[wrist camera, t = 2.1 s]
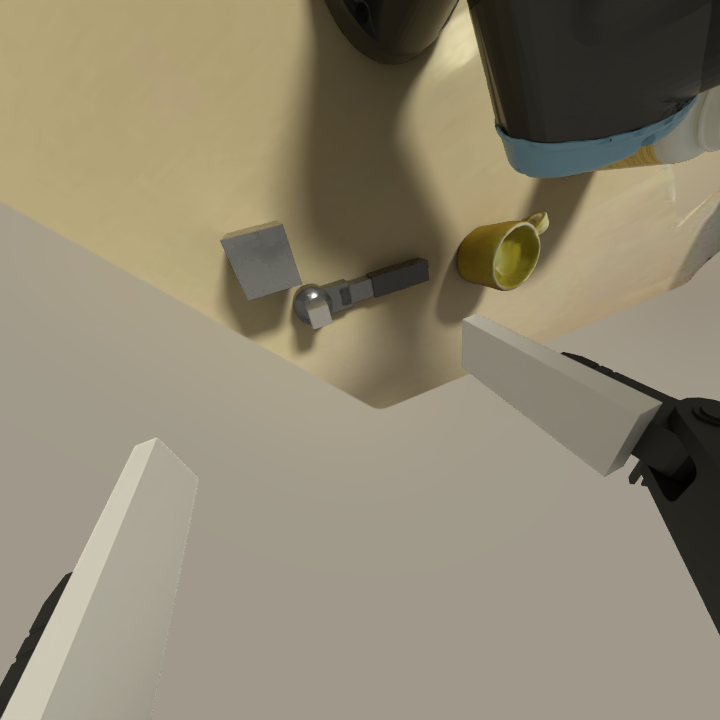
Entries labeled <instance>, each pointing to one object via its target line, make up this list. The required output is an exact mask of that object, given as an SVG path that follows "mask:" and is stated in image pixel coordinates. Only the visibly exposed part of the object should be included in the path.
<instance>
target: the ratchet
mask: <svg viewBox="0 0 720 720" xmlns="http://www.w3.org/2000/svg"><path fill="white" fill-rule="evenodd" d="M428 280H429V273H428V260H426V259H422V258H416V259H413V260H410V261H406V262H403V263H400V264H397V265H394V266H390V267H387V268H384V269H381V270H378V271H374V272H371V273H368V274H366V276H363V277H360V278H356V279H353V280H350V281H345V280H344V279H342V280H339V281H335V282H332V283H329V284H326V285H323V286H318V285H316V284H307V285H304V286H302V287H300V288H299V289H298V290H297V291H296V293H295V295H294V298H293V305H294V308H295V311H296V313H297V315H298V317H299V318H300V319H301V320H302V321H303V322H305V323H307V324H310V325H312V327H313V329H317V328H320V327H323V326H326V325H329V324H332V323H333V321H332V318H331V314H332V313H335V312H338V311H341V310H344V309H347V308H350V307H353V303H355V302H358V301H361V300H364V299H367V298H370V297H373V296H374V297H375V298H377V297H380V296H383V295H386V294H389V293H392V292H395V291H398V290H401V289H404V288H407V287H410V286H413V285H416V284H419V283H422V282H425V281H428Z"/></svg>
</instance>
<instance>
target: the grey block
mask: <svg viewBox="0 0 720 720" xmlns="http://www.w3.org/2000/svg"><path fill="white" fill-rule="evenodd" d="M220 242H221V244H222V246H223V248H224V250H225V253H226V255H227V257H228V259H229V261H230V263H231V265H232V268H233V270H234V272H235V274H236V276H237V278H238V280H239V283H240V285H241V287H242V289H243V291H244V293H245V295H246V298H247V300H252V299H255V298H258V297H262V296H265V295H268V294H271V293H275V292H278V291H281V290H284V289H288V288H291V287H294V286H298V285H301V284H302V282H301V279H300V276H299V273H298V270H297V267H296V264H295V261H294V258H293V255H292V251H291V248H290V245H289V242H288V239H287V236H286V233H285V230H284V227H283V224H281V223H280V222H278V221H273V222H269V223H265V224H262V225H258V226H254V227H250V228H246V229H242V230H238V231H234V232H230V233H227V234H226V235H225V236H224V237H223V238H222V239H221V240H220Z"/></svg>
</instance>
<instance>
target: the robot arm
mask: <svg viewBox="0 0 720 720" xmlns="http://www.w3.org/2000/svg"><path fill="white" fill-rule="evenodd" d="M326 2H327V5H328V7H329V9H330V11H331V13H332V15H333V17H334V19H335V21H336V22H337V24H338V26H339V27H340V29H341V30H342V32H343V33H344V34H345V36H346V37H347V38H348V40H349V41H350V42H351V43H352V44H353V45H354V46H355V47H356V48H357V49H358V50H359V51H360V52H362V53H363V54H364V55H366V56H368V57H369V58H371V59H373V60H375V61H378V62H381V63H385V64H399V63H404V62H406V61H409V60H411V59H413V58H414V57H416V56H417V55H419V54H420V53H421V52H422V51H423V50H425V49H426V48H427V47H428V46H429V45H430V44H431V43H432V42H433V41H434V40H435V39H436V38H437V37H438V36H439V34H440V33H441V32H442V31H443V29H444V28H445V26H446V25H447V23H448V22H449V20H450V18H451V16H452V14H453V13H454V11H455V8H456V6H457V4H458V2H459V0H326ZM467 2H468V6H469V13H470V17H471V20H472V24H473V28H474V32H475V36H476V40H477V44H478V48H479V52H480V56H481V60H482V64H483V68H484V72H485V76H486V80H487V85H488V89H489V93H490V97H491V102H492V106H493V110H494V115H495V127H496V131H497V133H498V135H499V136H500V137H501V139H502V142H503V145H504V148H505V152H506V155H507V158H508V161H509V163H510V165H511V166H512V167H513V169H514V170H516V171H517V172H519V173H522V174H526V175H527V176H529V177H534V178H558V177H565V176H571V175H576V174H580V173H585V172H588V171H592V170H595V169H599V168H602V167H605V166H608V165H610V164H613V163H615V162H618V161H620V160H623V159H625V158H627V157H629V156H631V155H634V154H635V153H636V152H637V151H638V149H639V148H640V147H644V146H649V145H653V144H654V143H656V142H657V141H659V140H661V139H662V138H663V137H665V136H666V135H668V134H669V133H670V132H672V131H673V130H674V129H675V128H676V127H677V126H678V125H679V124H680V123H681V122H682V121H683V120H684V119H685V117H686V116H687V115H688V113H689V111H690V109H691V108H692V107H693V105H694V104H695V103H696V101H697V98H698V94H699V93H702V92H704V91H707V90H709V89H712V88H714V87H717V86H719V85H720V0H467ZM462 368H464V369H465V370H466V371H468V372H469V373H470V374H472V375H473V376H474V377H475V378H477V379H478V380H479V381H481V382H482V383H483V384H485V385H486V386H487V387H488V388H490V389H491V390H492V391H494V392H495V393H496V394H498V395H499V396H500V397H501V398H503V399H504V400H505V401H506V402H508V403H509V404H510V405H512V406H513V407H514V408H516V409H517V410H518V411H520V412H521V413H522V414H523V415H525V416H526V417H527V418H529V419H530V420H531V421H533V422H534V423H535V424H536V425H538V426H539V427H540V428H542V429H543V430H544V431H545V432H547V433H548V434H549V435H551V436H552V437H553V438H555V439H556V440H557V441H559V442H560V443H561V444H563V445H564V446H565V447H566V448H568V449H569V450H570V451H571V452H573V453H574V454H575V455H577V456H578V457H579V458H581V459H582V460H583V461H584V462H586V463H587V464H588V465H590V466H591V467H592V468H593V469H595V470H596V471H598V472H599V473H600V474H601V475H603V476H604V477H605V476H607V475H609V474H610V473H612V472H614V471H616V470H618V469H619V468H621V467H623V466H624V464H625V463H626V461H627V459H628V458H629V456H630V455H631V454H632V455H634V456H635V457H637V458H638V459H640V460H639V462H638V463H637V465H636V466H635V468H634V469H633V471H632V472H631V474H630V476H629V482H630V484H635V483H636V481H637V480H638V478H639V477H640V476H641V475H642V476H643V478H644V479H643V480H642V483H641V485H642V486H647V487H648V489H649V491H650V493H651V495H652V497H653V499H654V501H655V503H656V505H657V507H658V509H659V511H660V513H661V515H662V517H663V520H664V522H665V524H666V526H667V528H668V530H669V532H670V534H671V536H672V538H673V540H674V542H675V544H676V546H677V548H678V550H679V552H680V555H681V557H682V559H683V561H684V563H685V565H686V567H687V569H688V571H689V573H690V575H691V577H692V579H693V581H694V583H695V585H696V587H697V589H698V591H699V594H700V596H701V597H702V600H703V602H704V603H705V606H706V608H707V610H708V612H709V614H710V616H711V618H712V620H713V622H714V624H715V626H716V628H717V630H718V633H719V634H720V402H719V401H716V400H712V399H705V398H685V399H683V400H678V399H675V398H673V397H670V396H668V395H666V394H663V393H661V392H659V391H657V390H654V389H652V388H650V387H648V386H646V385H644V384H641V383H639V382H637V381H635V380H633V379H630V378H628V377H626V376H624V375H621V374H619V373H617V372H615V373H614V372H613V371H612V370H611V369H609V368H606V367H604V366H599V364H598V363H595V362H593V361H591V360H589V359H587V358H584V357H582V356H578V355H574V354H570V353H566V352H563V353H558V352H556V351H554V350H552V349H549V348H548V347H545V346H543V345H541V344H539V343H537V342H535V341H533V340H531V339H529V338H527V337H525V336H523V335H520V334H518V333H516V332H514V331H512V330H510V329H508V328H506V327H504V326H502V325H500V324H498V323H495V322H493V321H491V320H489V319H487V318H485V317H483V316H481V315H479V314H475V315H472V316H470V317H467V318H464V319H463V329H462ZM198 481H199V478H198V477H197V476H196V475H195V474H194V473H193V472H192V471H191V470H190V469H189V468H188V467H187V466H186V465H185V464H184V463H183V462H182V461H181V460H180V459H179V458H178V457H177V456H176V455H175V454H174V453H173V452H172V451H171V450H170V449H169V448H168V447H167V446H166V445H165V444H164V443H163V442H162V441H161V440H160V439H159V438H154V439H151V440H149V441H146V442H144V443H141V444H138V445H136V446H135V447H134V449H133V451H132V453H131V455H130V457H129V459H128V461H127V463H126V465H125V468H124V470H123V472H122V474H121V476H120V478H119V480H118V482H117V484H116V486H115V488H114V490H113V492H112V494H111V496H110V498H109V500H108V502H107V504H106V506H105V508H104V510H103V512H102V514H101V516H100V518H99V521H98V522H97V524H96V527H95V528H94V531H93V533H92V535H91V537H90V539H89V541H88V543H87V545H86V547H85V549H84V551H83V553H82V555H81V557H80V559H79V561H78V563H77V565H76V567H75V569H74V571H73V572H71V573H69V574H66V575H65V576H64V578H63V579H62V580H61V581H60V583H59V584H58V585H57V587H56V588H55V589H54V591H53V592H52V593H51V595H50V596H49V597H48V599H47V600H46V601H45V603H44V604H43V606H42V608H41V610H40V612H39V614H38V616H37V618H36V620H35V621H34V623H33V625H32V627H31V629H30V631H29V632H30V635H29V637H27V638H26V639H25V640H24V642H23V644H22V646H21V648H20V650H19V652H18V654H17V656H16V659H17V660H16V662H15V663H14V664H12V665H11V667H10V669H9V671H8V673H7V674H6V676H5V678H4V680H3V682H2V684H1V686H0V720H151V718H152V713H153V708H154V703H155V698H156V693H157V688H158V682H159V678H160V673H161V667H162V662H163V657H164V652H165V647H166V642H167V637H168V632H169V627H170V622H171V617H172V612H173V607H174V602H175V597H176V592H177V587H178V581H179V577H180V572H181V567H182V562H183V557H184V552H185V546H186V542H187V537H188V531H189V526H190V521H191V516H192V511H193V505H194V501H195V496H196V491H197V486H198Z"/></svg>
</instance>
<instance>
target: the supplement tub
mask: <svg viewBox="0 0 720 720" xmlns="http://www.w3.org/2000/svg"><path fill="white" fill-rule="evenodd" d="M717 150H720V85H719V86H717V87H714V88H712V89H709V90H707V91H704V92H702V93H699V94H698V98H697V101H696V103H695V104H694V105H693V107H692V108H691V109H690V111H689V113H688V115H687V116H686V117H685V119H684V120H683V121H682V122H681V123H680V124H679V125H678V126H677V127H676V128H675V129H674V130H673V131H672V132H670V133H669V134H668V135H666V136H665V137H663V138H662V139H661V140H659V141H657V142H656V143H654V144H653V145H649V146H644V147H640V148H639V149H638V151H637V152H636V153H635V154H634V155H631V156H629V157H627V158H625V159H623V160H620V161H618V162H615V163H613V164H610V165H608V166H605V167H602V168H599V169H595V170H592V171H601V170H611V169H621V168H631V167H641V166H652V165H662V164H675V163H680V162H684V161H687V160H690V159H692V158H695V157H697V156H699V155H700V154H702V153H704V152H705V151H707V152H712V151H717ZM588 172H591V171H588Z"/></svg>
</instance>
